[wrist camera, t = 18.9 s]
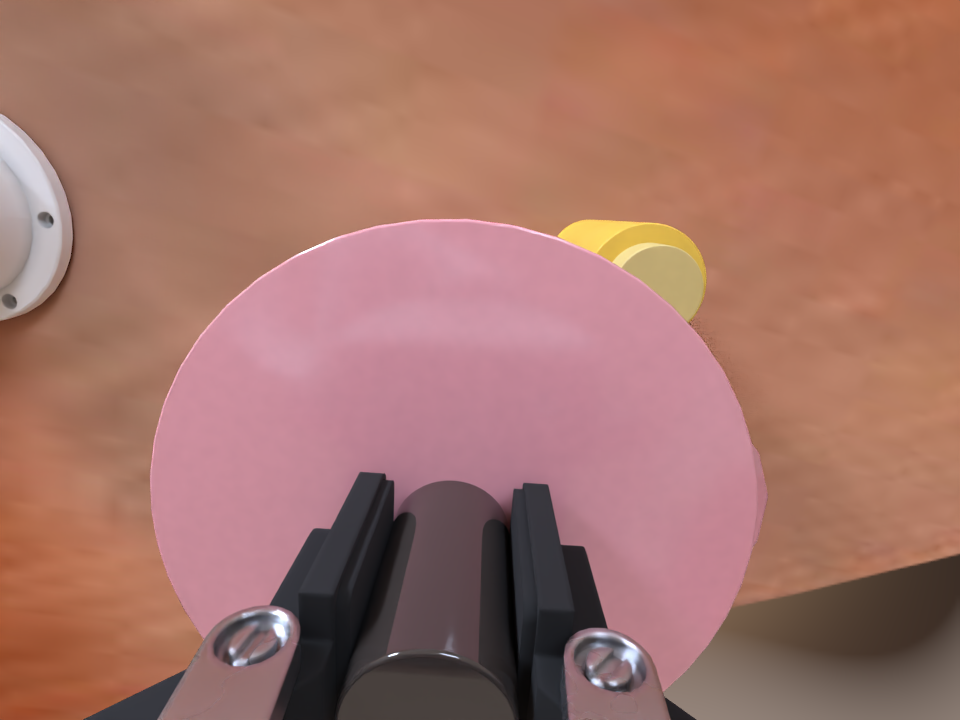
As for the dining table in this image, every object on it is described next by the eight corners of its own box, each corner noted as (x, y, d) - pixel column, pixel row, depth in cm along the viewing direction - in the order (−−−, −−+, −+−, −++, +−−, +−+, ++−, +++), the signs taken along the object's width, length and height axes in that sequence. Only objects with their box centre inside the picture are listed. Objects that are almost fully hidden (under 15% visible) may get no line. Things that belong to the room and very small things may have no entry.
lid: (199, 705, 15) (16, 1012, 9) (151, 197, 11) (-197, 179, 6) (685, 738, 15) (807, 1067, 9) (790, 240, 11) (1100, 265, 6)
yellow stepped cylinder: (544, 296, 32) (584, 350, 19) (553, 216, 31) (601, 218, 18) (621, 302, 32) (710, 359, 19) (632, 222, 31) (736, 229, 18)
